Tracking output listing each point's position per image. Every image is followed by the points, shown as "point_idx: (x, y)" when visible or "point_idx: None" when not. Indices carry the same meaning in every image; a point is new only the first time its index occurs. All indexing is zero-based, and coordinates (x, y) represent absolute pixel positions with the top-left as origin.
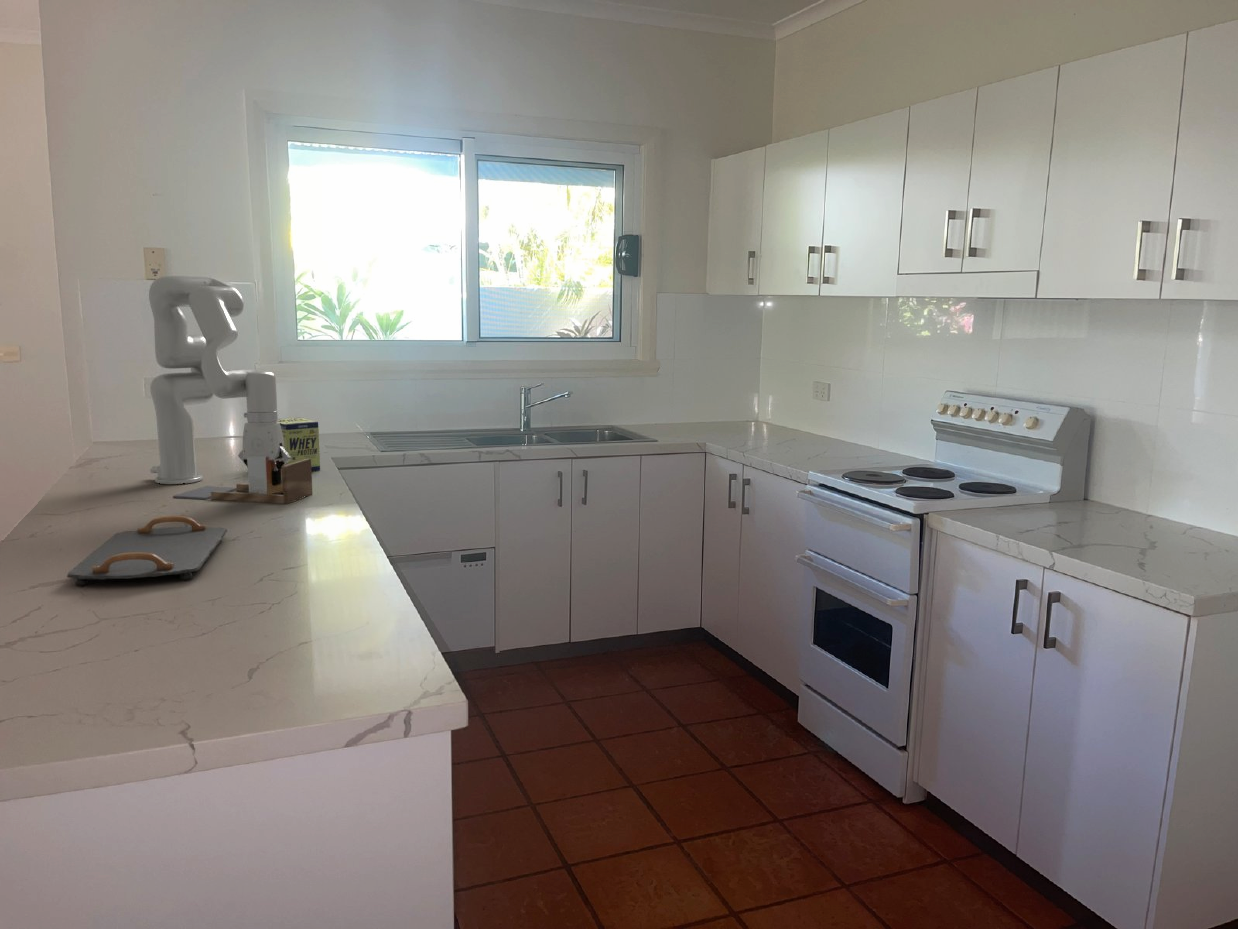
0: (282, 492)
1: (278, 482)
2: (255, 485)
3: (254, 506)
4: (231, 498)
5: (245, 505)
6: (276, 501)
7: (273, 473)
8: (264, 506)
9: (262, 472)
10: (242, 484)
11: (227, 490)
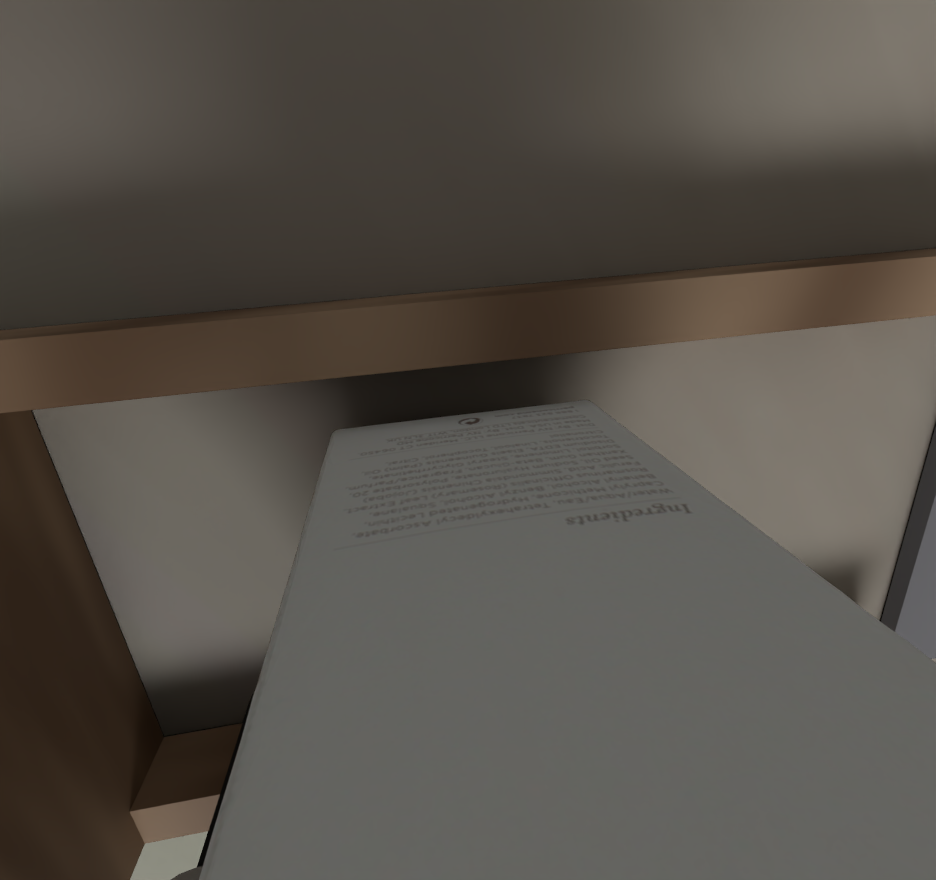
0: None
1: None
2: (521, 452)
3: (217, 16)
4: (735, 267)
5: (389, 44)
6: (98, 323)
7: None
8: (78, 65)
9: (377, 638)
10: None
11: (927, 565)
